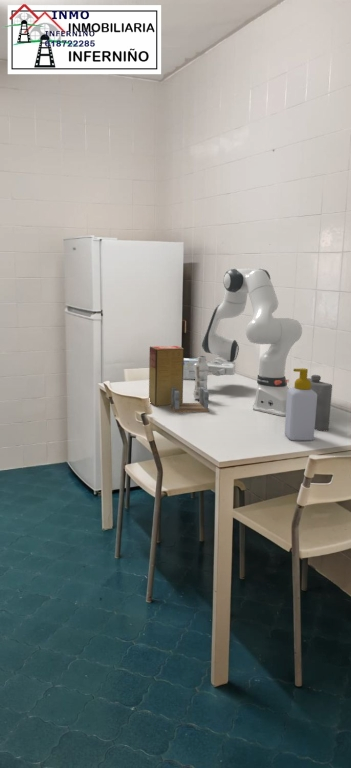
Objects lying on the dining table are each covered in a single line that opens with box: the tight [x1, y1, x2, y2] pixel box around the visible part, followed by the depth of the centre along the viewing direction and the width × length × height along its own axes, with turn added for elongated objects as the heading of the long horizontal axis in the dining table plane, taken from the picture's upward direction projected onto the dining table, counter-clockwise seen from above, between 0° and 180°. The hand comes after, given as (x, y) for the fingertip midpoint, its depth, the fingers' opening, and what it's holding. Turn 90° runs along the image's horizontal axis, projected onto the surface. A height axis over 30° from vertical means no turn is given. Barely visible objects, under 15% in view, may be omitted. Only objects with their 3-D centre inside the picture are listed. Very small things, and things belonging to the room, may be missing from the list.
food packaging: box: [148, 345, 185, 407], centre depth 250 cm, size 13×9×25 cm
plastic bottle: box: [193, 355, 209, 400], centre depth 259 cm, size 6×7×20 cm
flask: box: [307, 374, 333, 432], centre depth 220 cm, size 15×6×20 cm, turn 25°
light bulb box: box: [183, 357, 198, 380], centre depth 310 cm, size 11×7×11 cm, turn 84°
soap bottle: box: [284, 368, 317, 442], centre depth 204 cm, size 9×9×25 cm
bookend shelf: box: [169, 387, 210, 413], centre depth 242 cm, size 10×14×8 cm
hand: (209, 371), depth 270 cm, fingers open, 8 cm apart
